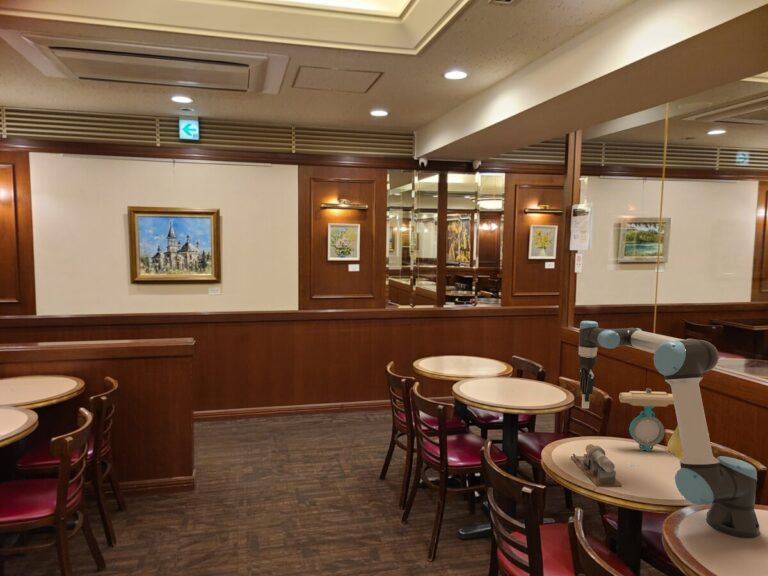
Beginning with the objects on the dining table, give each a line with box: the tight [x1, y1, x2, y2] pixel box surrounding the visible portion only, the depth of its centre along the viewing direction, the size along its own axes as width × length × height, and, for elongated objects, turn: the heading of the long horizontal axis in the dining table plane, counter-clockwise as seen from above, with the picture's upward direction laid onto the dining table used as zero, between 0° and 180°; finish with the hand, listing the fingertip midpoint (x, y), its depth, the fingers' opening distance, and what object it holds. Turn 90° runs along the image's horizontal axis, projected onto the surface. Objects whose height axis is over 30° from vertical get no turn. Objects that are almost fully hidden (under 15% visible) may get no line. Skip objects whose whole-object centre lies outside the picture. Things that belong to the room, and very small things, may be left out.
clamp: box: [666, 425, 684, 461], centre depth 237 cm, size 20×9×16 cm, turn 177°
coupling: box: [583, 443, 600, 469], centre depth 223 cm, size 6×7×10 cm
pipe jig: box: [570, 445, 623, 488], centre depth 221 cm, size 29×10×12 cm, turn 1°
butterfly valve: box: [618, 387, 674, 452], centre depth 245 cm, size 27×7×30 cm, turn 84°
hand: (585, 407), depth 232 cm, fingers closed
